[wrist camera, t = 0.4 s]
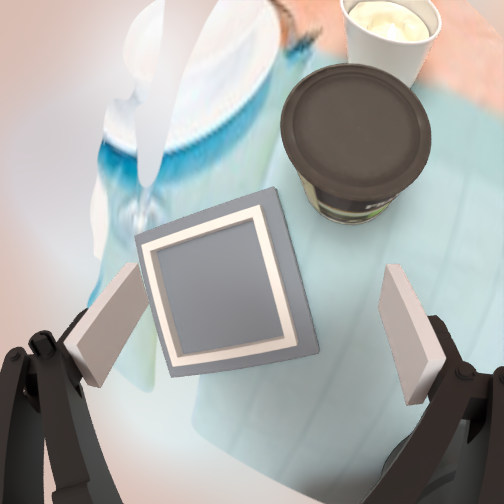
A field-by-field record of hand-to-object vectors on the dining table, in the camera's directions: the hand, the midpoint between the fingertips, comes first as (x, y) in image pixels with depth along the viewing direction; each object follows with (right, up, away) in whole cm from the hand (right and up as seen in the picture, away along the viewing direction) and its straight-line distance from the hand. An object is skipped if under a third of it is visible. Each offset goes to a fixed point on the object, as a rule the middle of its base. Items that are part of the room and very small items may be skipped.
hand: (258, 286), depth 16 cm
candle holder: (+15, +24, +15) cm, 32 cm away
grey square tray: (-4, -3, +19) cm, 20 cm away
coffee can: (+10, +10, +16) cm, 21 cm away
